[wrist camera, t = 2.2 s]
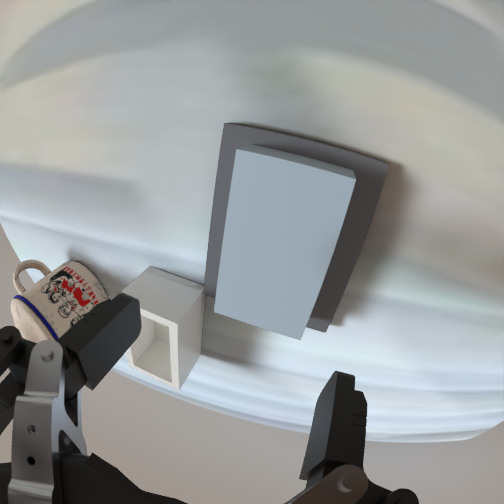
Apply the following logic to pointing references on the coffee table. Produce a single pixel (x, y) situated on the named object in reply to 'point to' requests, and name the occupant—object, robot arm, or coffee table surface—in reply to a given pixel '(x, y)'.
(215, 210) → the mat
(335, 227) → the lid
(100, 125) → the coffee table surface
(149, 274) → the white open cubby box
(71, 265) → the teacup with lid
